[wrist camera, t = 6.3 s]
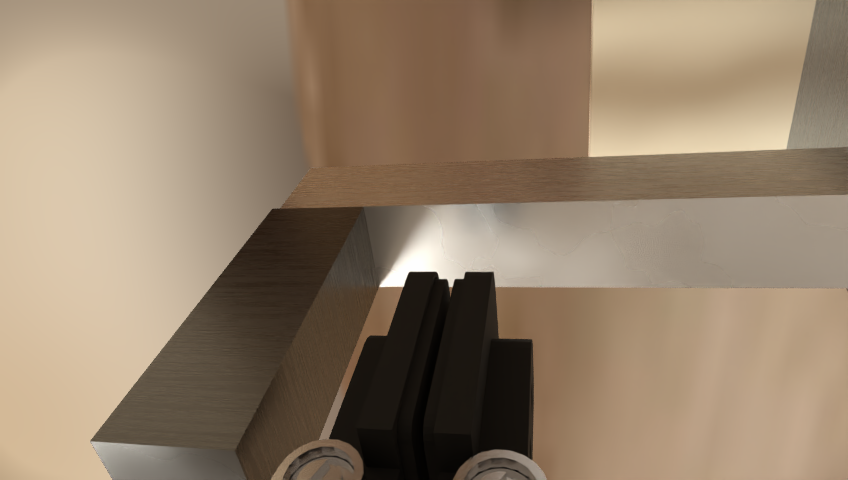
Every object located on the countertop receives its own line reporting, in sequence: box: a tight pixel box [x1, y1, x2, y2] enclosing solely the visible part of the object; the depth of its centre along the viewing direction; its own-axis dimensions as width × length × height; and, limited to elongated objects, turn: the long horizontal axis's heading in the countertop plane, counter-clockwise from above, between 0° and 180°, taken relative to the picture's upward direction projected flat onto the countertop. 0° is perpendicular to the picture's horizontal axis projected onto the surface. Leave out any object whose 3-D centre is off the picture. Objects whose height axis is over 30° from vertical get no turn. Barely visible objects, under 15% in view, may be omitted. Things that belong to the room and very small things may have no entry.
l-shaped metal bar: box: [90, 147, 848, 480], centre depth 12 cm, size 2×20×10 cm, turn 97°
